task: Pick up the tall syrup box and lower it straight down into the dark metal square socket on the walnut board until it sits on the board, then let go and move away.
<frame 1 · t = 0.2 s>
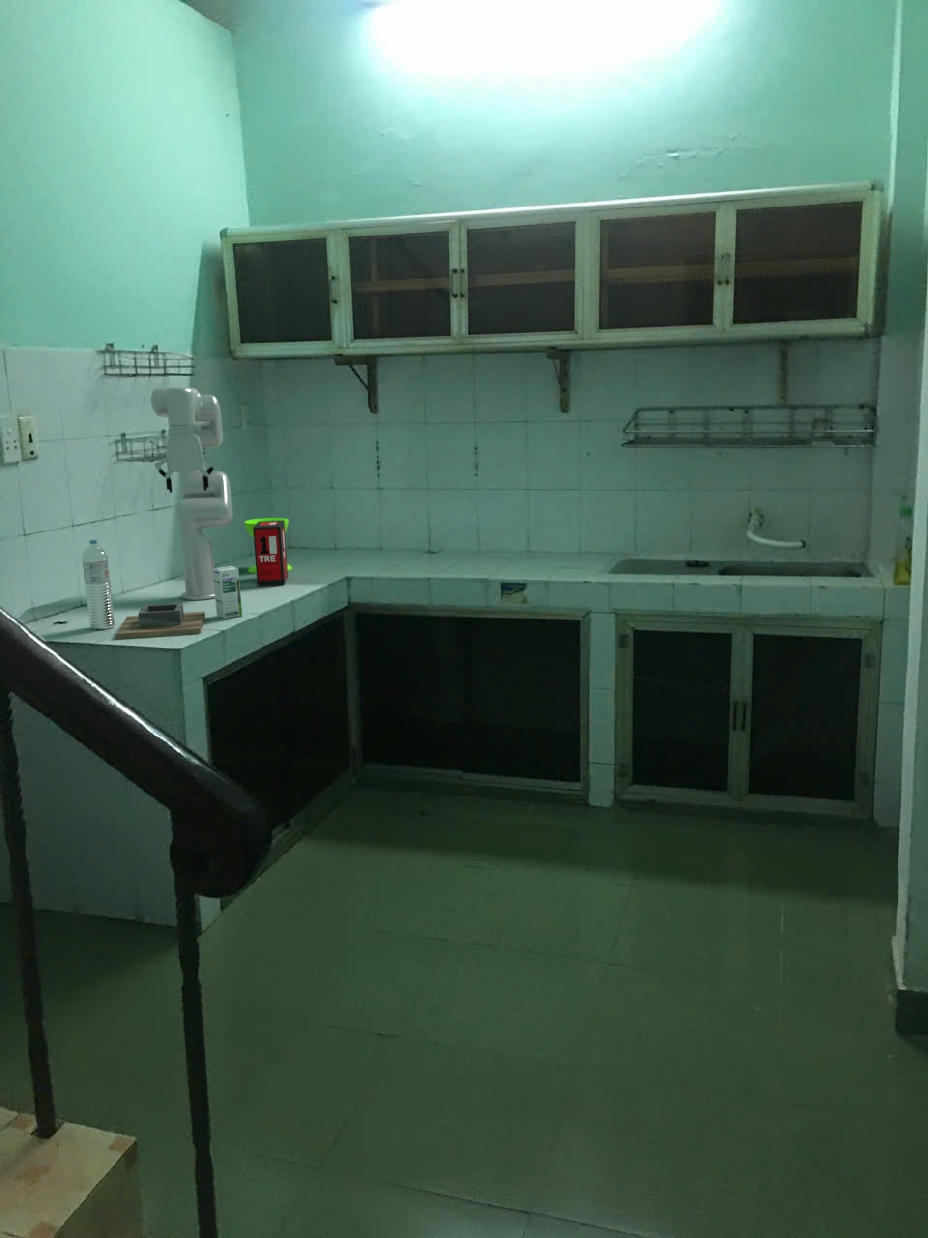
hand: (188, 491, 293), 36 cm above the counter, tool pointing down, fingers open, 9 cm apart
cleaning product box: (273, 582, 347), on the counter
syrup box: (229, 616, 295), on the counter
socket board: (162, 627, 283), on the counter
wineglass: (270, 569, 371), on the counter
water bottle: (102, 628, 285), on the counter
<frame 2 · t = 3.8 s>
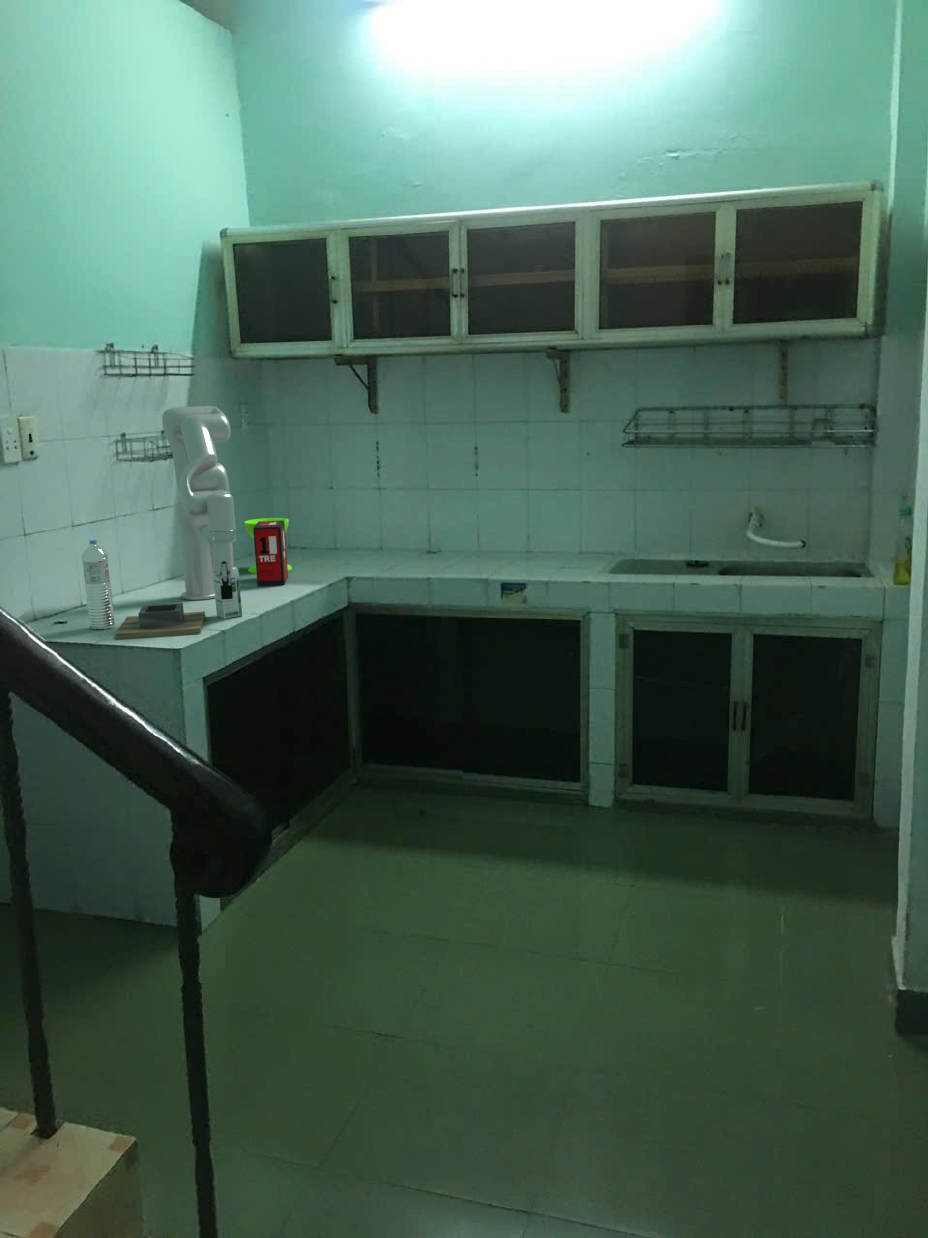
hand: (227, 595, 294), 6 cm above the counter, tool pointing down, fingers closed on syrup box, 7 cm apart
syrup box: (229, 616, 295), on the counter, touching gripper
everything else where it was.
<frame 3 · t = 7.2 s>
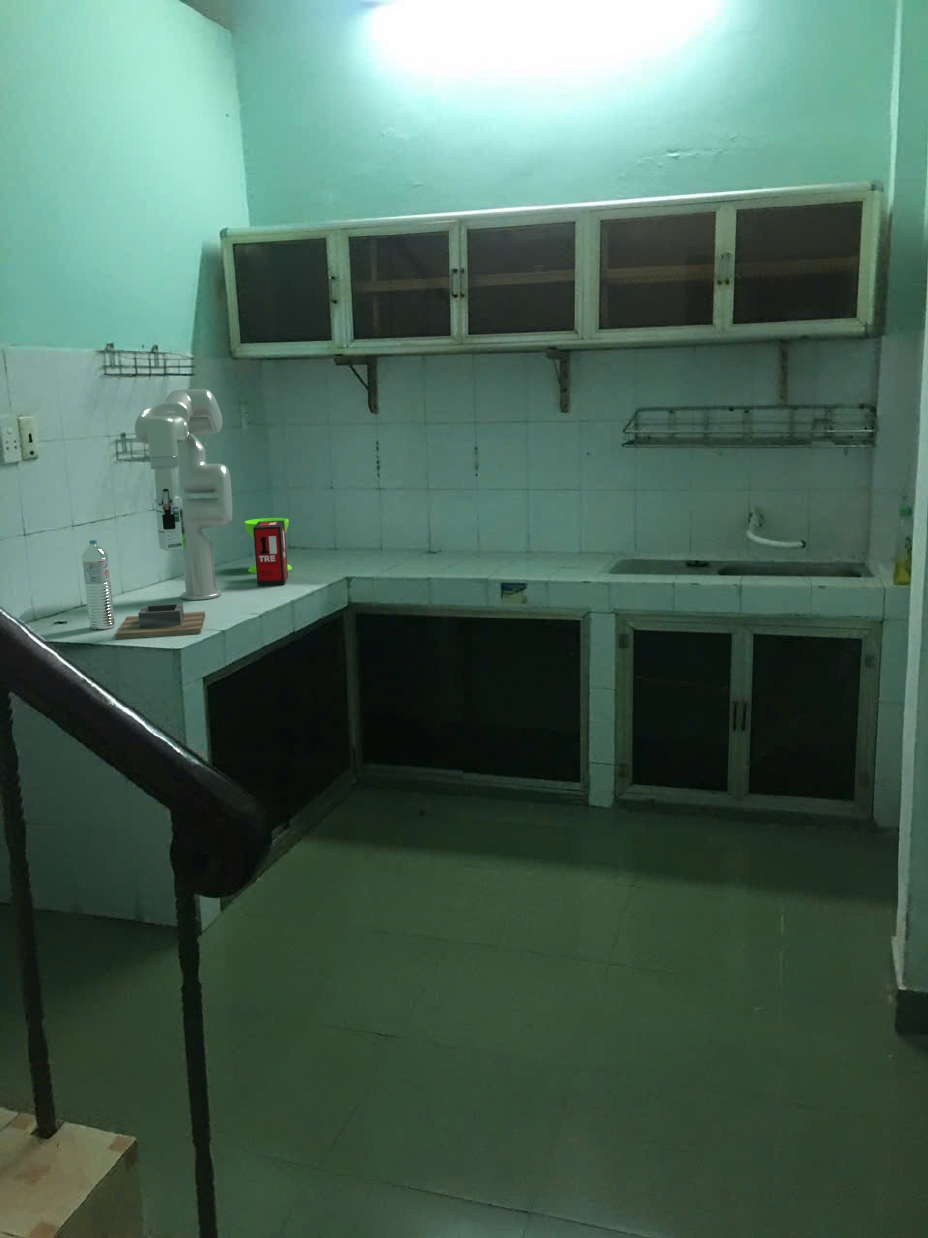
hand: (170, 526, 280), 28 cm above the counter, tool pointing down, fingers closed on syrup box, 7 cm apart
syrup box: (172, 549, 281), point 22 cm above the counter, touching gripper
everything else where it was.
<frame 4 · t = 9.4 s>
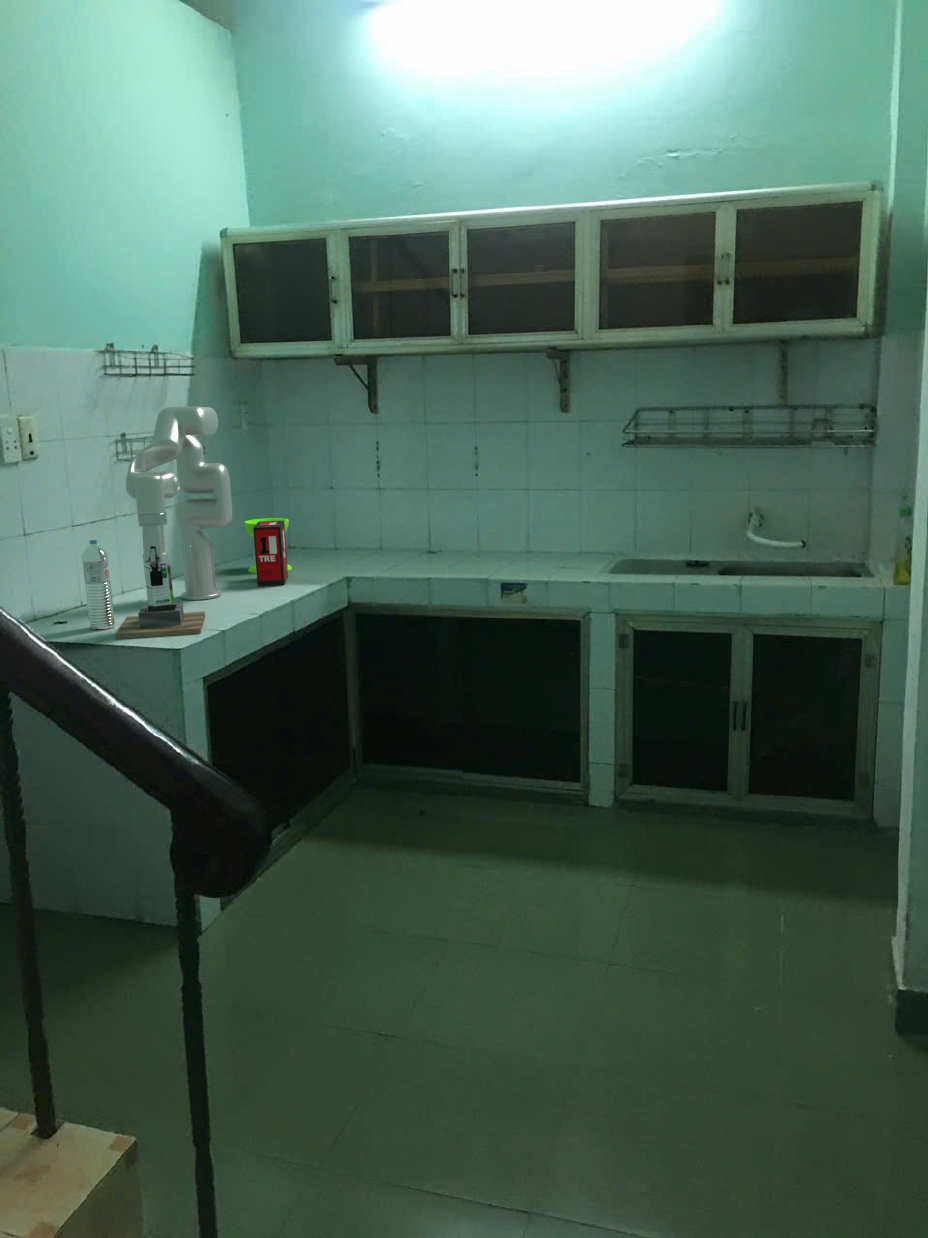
hand: (158, 582, 281), 13 cm above the counter, tool pointing down, fingers closed on syrup box, 7 cm apart
syrup box: (160, 604, 282), point 7 cm above the counter, touching gripper
everything else where it was.
when the fingers open (9 cm above the counter, at t = 10.9 s): syrup box drops 1 cm, resting on socket board.
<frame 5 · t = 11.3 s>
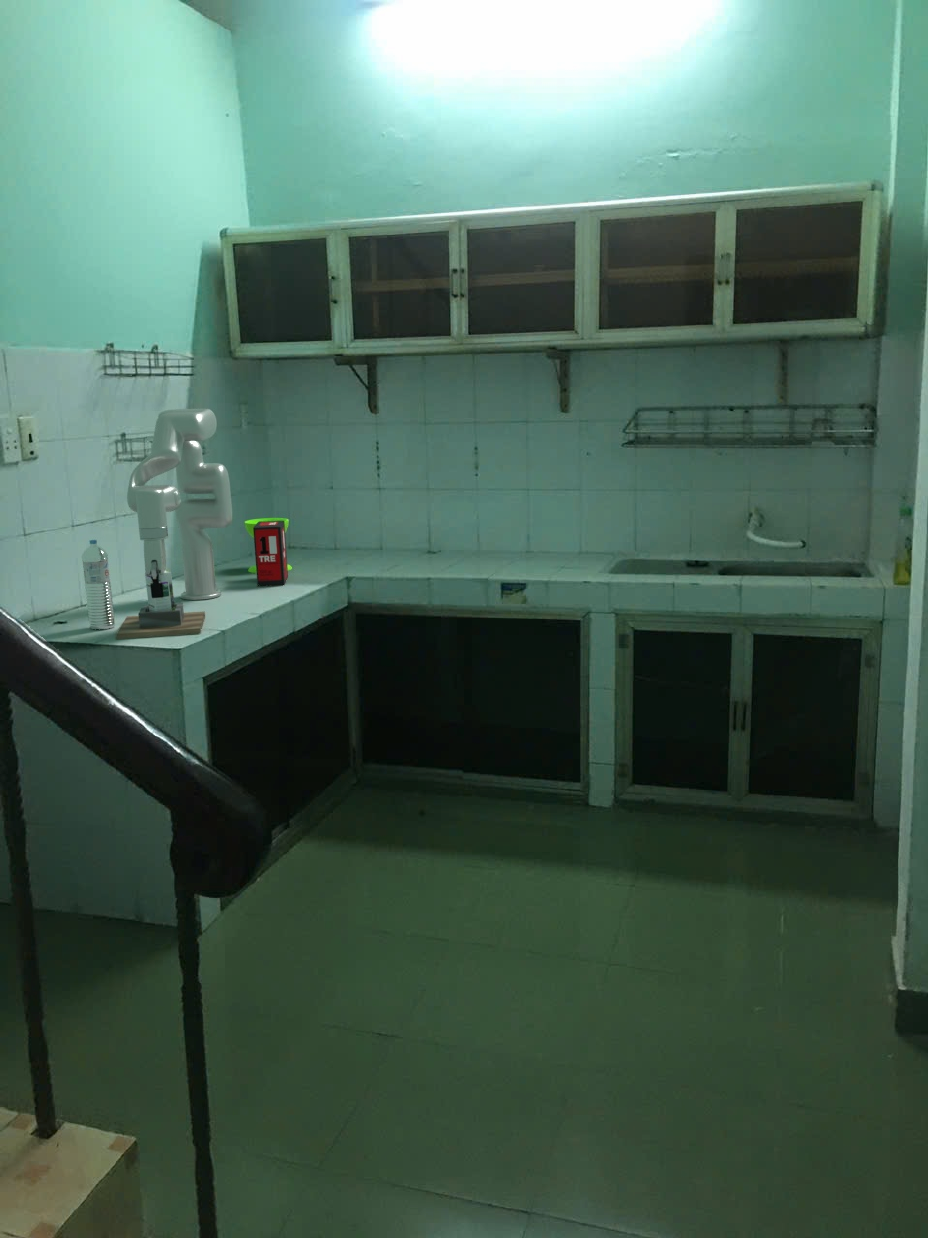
hand: (159, 594, 281), 10 cm above the counter, tool pointing down, fingers open, 9 cm apart
syrup box: (163, 622, 284), point 1 cm above the counter, touching socket board
everything else where it was.
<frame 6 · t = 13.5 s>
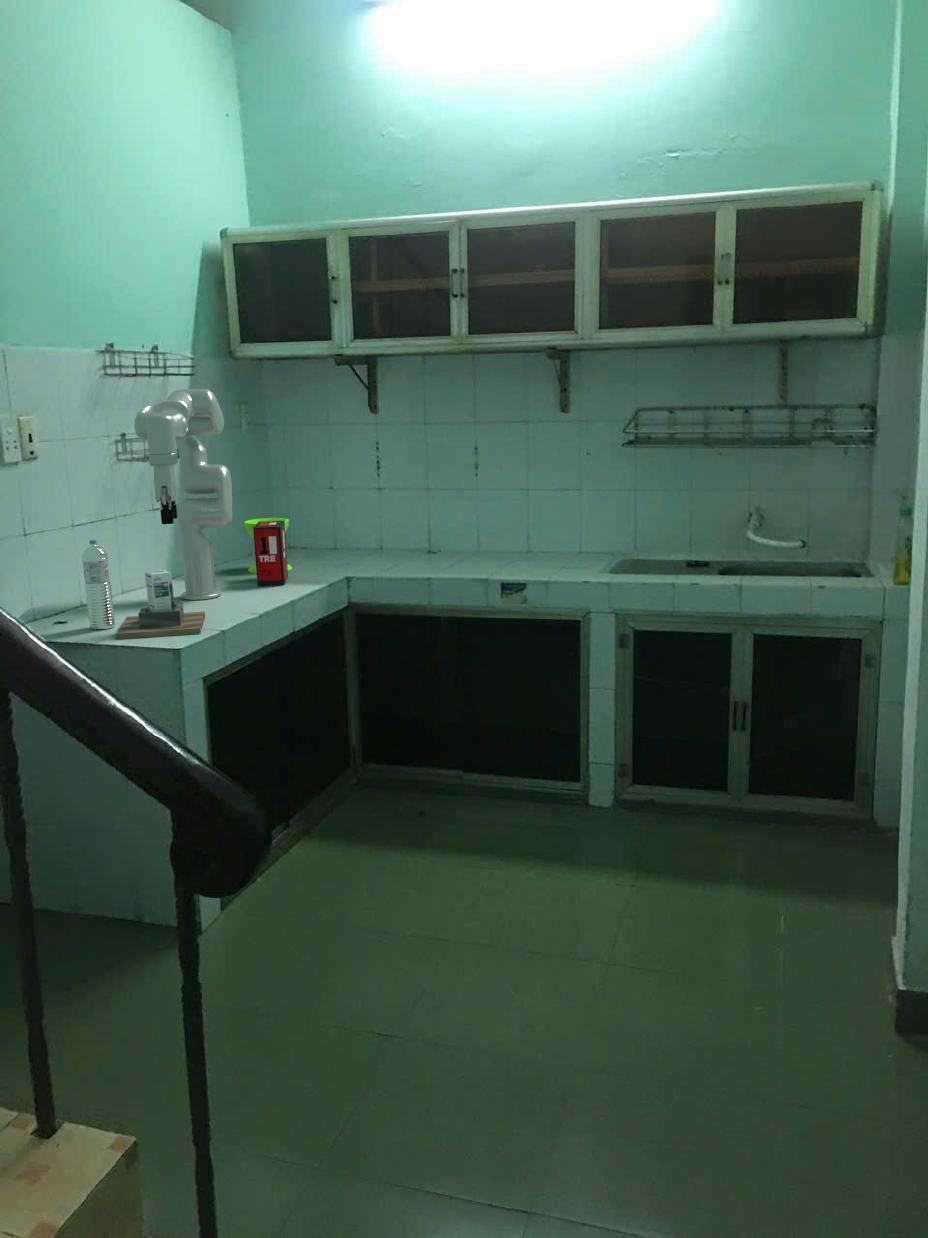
hand: (169, 521, 283), 29 cm above the counter, tool pointing down, fingers open, 9 cm apart
nothing on the counter moved.
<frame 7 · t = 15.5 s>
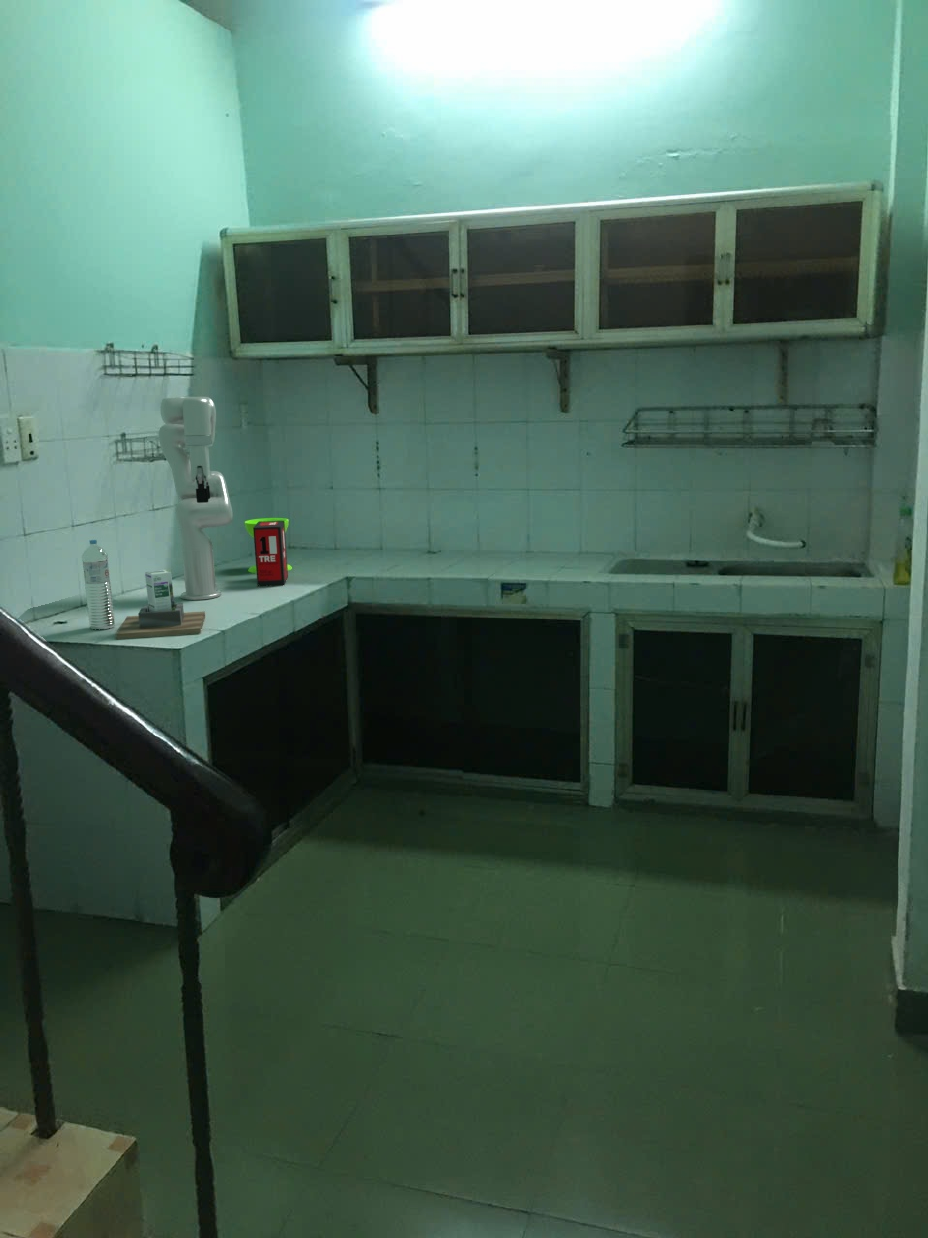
hand: (203, 500, 295), 33 cm above the counter, tool pointing down, fingers open, 9 cm apart
nothing on the counter moved.
at the end: syrup box 0.4 cm off-centre on the socket board, point 1.3 cm above the socket board's base; syrup box tilted 0°; the gripper is holding nothing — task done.
